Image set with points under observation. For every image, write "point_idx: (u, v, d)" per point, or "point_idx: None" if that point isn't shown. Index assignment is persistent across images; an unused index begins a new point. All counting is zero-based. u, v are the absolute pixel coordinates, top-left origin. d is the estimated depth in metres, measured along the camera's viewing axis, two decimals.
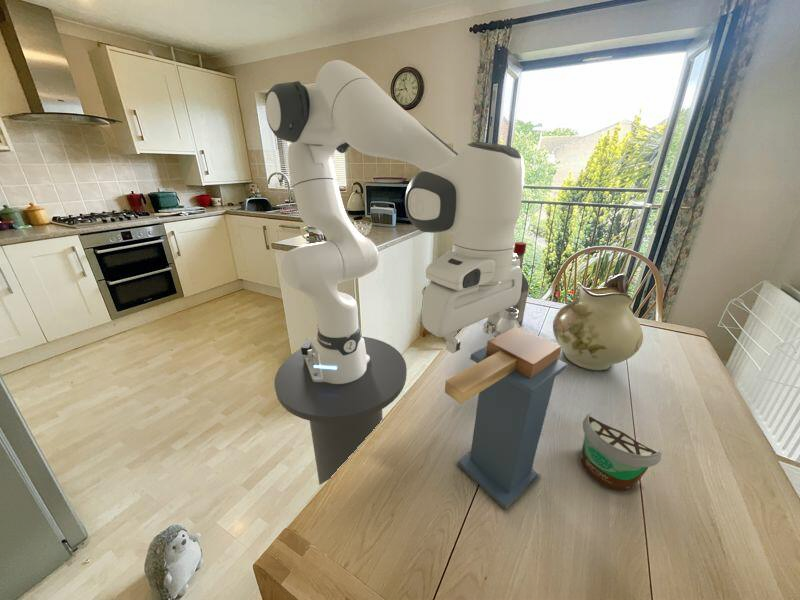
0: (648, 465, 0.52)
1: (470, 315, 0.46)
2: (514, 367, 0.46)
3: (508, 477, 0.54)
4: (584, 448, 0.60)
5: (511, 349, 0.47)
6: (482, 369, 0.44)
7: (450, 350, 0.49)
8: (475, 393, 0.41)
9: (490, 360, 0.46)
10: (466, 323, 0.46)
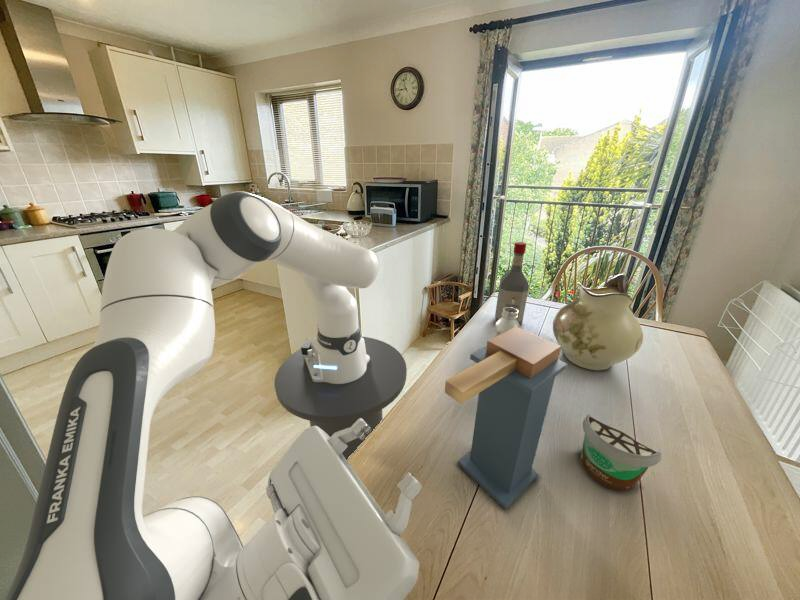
0: (648, 465, 0.52)
1: (354, 520, 0.30)
2: (514, 367, 0.46)
3: (508, 477, 0.54)
4: (584, 448, 0.60)
5: (511, 349, 0.47)
6: (482, 369, 0.44)
7: (417, 486, 0.31)
8: (475, 393, 0.41)
9: (490, 360, 0.46)
10: (368, 517, 0.30)
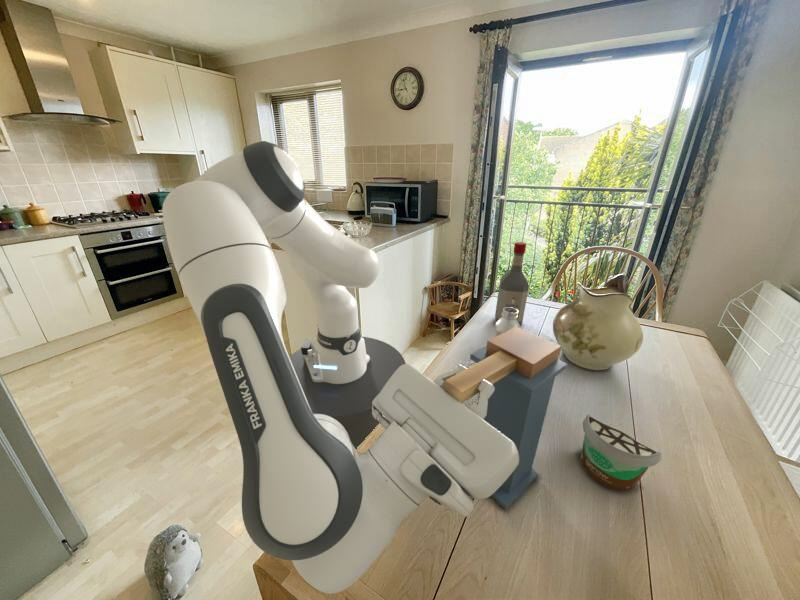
0: (648, 465, 0.52)
1: (462, 423, 0.38)
2: (514, 367, 0.46)
3: (508, 477, 0.54)
4: (584, 448, 0.60)
5: (511, 349, 0.47)
6: (482, 368, 0.44)
7: (492, 387, 0.41)
8: (475, 393, 0.41)
9: (490, 360, 0.46)
10: (473, 419, 0.37)
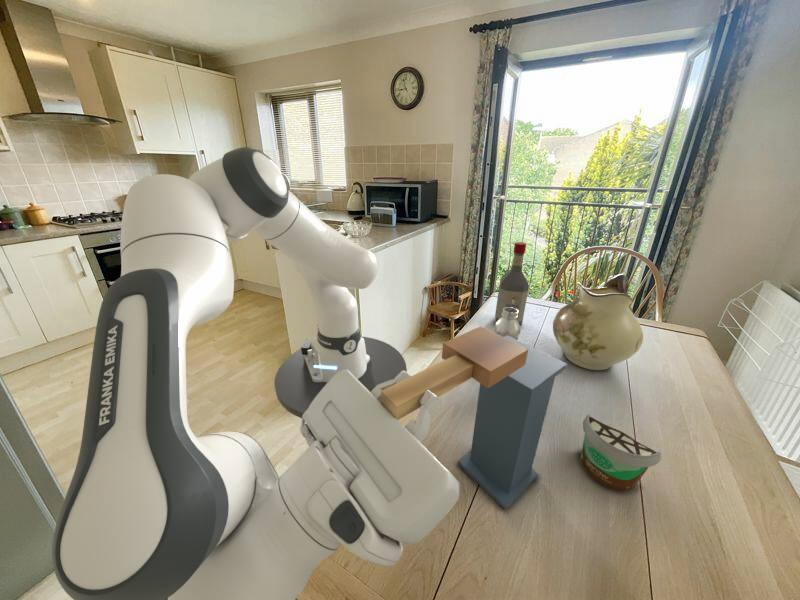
0: (648, 465, 0.52)
1: (393, 445, 0.30)
2: (470, 374, 0.39)
3: (508, 477, 0.54)
4: (584, 448, 0.60)
5: (468, 353, 0.40)
6: (429, 376, 0.36)
7: (436, 400, 0.33)
8: (417, 406, 0.34)
9: (441, 366, 0.38)
10: (406, 441, 0.30)
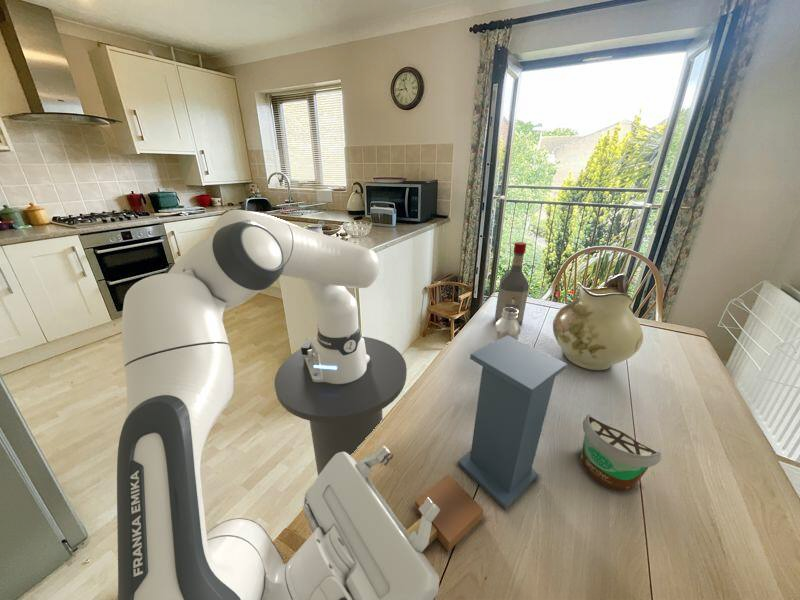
0: (648, 465, 0.52)
1: (383, 540, 0.35)
2: (435, 536, 0.49)
3: (508, 477, 0.54)
4: (584, 448, 0.60)
5: None
6: None
7: (436, 509, 0.37)
8: None
9: (411, 532, 0.48)
10: (394, 537, 0.35)
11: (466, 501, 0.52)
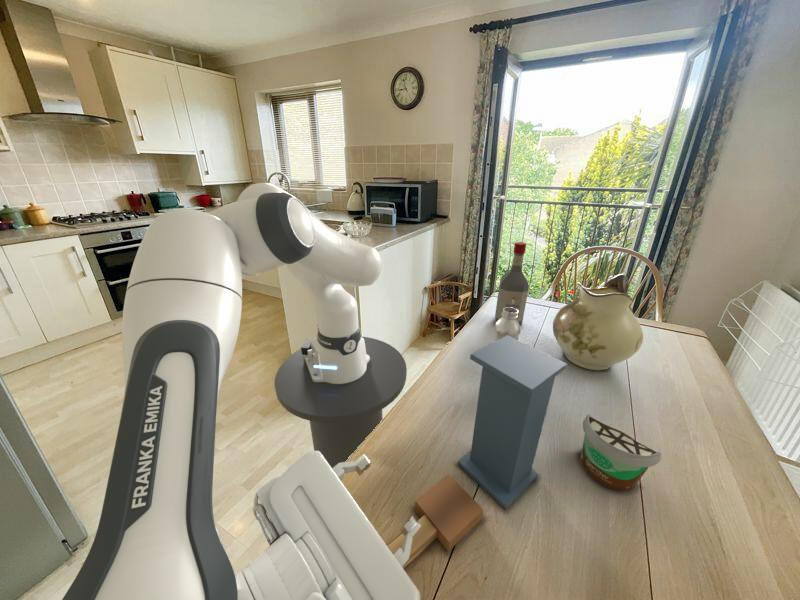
0: (648, 465, 0.52)
1: (370, 555, 0.33)
2: (435, 536, 0.49)
3: (508, 477, 0.54)
4: (584, 448, 0.60)
5: (434, 515, 0.50)
6: (401, 547, 0.46)
7: (418, 529, 0.37)
8: None
9: None
10: (383, 553, 0.33)
11: (466, 501, 0.52)
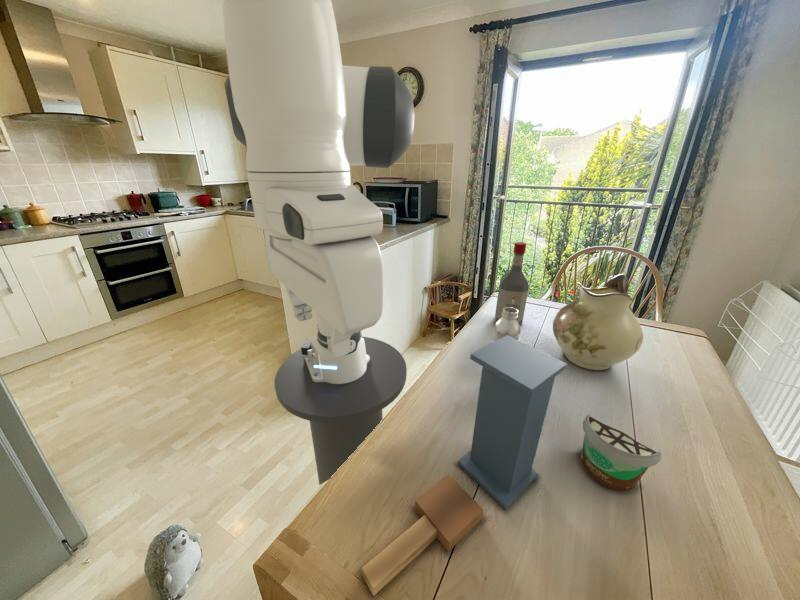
0: (648, 465, 0.52)
1: None
2: (435, 536, 0.49)
3: (508, 477, 0.54)
4: (584, 448, 0.60)
5: (434, 515, 0.50)
6: (401, 547, 0.46)
7: (344, 352, 0.31)
8: (390, 579, 0.44)
9: (411, 532, 0.48)
10: None
11: (466, 501, 0.52)
